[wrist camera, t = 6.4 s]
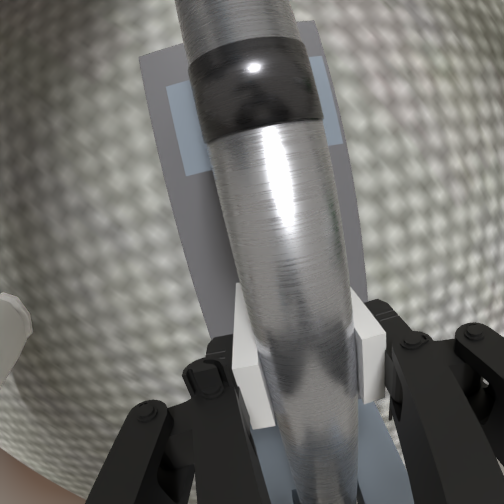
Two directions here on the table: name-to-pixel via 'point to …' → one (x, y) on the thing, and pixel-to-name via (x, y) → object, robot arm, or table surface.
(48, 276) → the table surface
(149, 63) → the rig
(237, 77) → the shaft
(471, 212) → the table surface
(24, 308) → the cup
